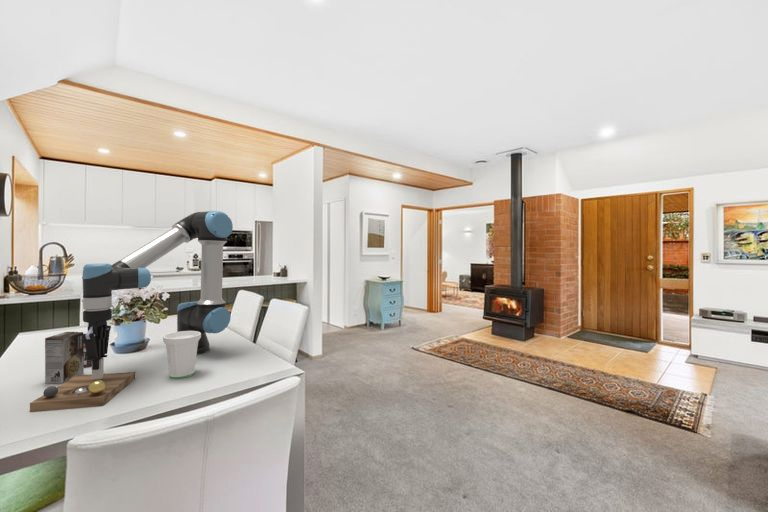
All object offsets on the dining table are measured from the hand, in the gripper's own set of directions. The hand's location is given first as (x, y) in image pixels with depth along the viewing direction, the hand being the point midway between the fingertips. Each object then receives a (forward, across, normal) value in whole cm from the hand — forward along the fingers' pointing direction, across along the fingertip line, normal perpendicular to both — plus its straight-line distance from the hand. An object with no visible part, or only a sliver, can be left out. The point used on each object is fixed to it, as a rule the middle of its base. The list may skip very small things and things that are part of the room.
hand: (97, 377), depth 116 cm
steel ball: (+2, +9, 0) cm, 9 cm away
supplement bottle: (+4, -26, -15) cm, 31 cm away
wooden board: (+3, +5, 0) cm, 6 cm away
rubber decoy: (-1, +12, -6) cm, 14 cm away
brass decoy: (-1, +13, +6) cm, 14 cm away
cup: (+4, -7, +24) cm, 25 cm away
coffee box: (+4, -12, -15) cm, 19 cm away
